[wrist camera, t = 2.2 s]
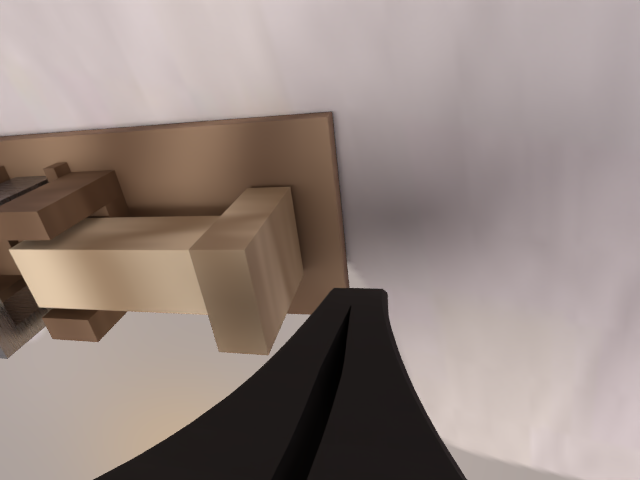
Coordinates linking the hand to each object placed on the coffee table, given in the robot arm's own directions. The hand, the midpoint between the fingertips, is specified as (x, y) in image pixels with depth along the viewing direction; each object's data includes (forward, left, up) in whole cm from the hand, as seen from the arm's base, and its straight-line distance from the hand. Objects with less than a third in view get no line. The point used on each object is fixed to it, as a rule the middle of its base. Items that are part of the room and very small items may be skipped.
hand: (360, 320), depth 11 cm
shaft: (+7, 0, -5) cm, 9 cm away
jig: (+10, 0, -6) cm, 12 cm away
